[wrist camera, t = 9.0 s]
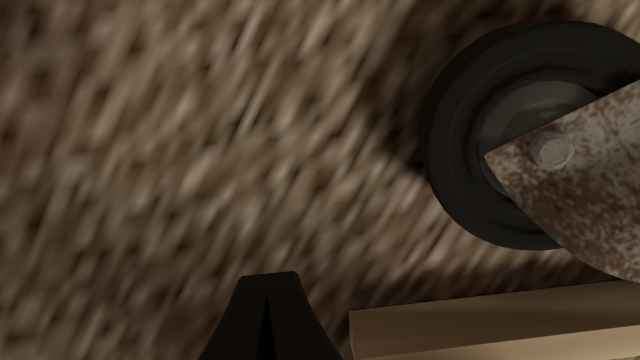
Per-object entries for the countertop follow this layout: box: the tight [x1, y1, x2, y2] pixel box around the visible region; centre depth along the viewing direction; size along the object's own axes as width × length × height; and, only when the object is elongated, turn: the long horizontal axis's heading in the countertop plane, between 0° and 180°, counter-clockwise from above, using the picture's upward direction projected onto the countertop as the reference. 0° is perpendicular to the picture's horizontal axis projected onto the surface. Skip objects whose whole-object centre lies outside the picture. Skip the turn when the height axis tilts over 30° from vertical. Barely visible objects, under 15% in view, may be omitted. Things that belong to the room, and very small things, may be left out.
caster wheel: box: [419, 20, 640, 282], centre depth 17 cm, size 7×11×10 cm
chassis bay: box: [349, 280, 640, 360], centre depth 18 cm, size 20×18×3 cm
